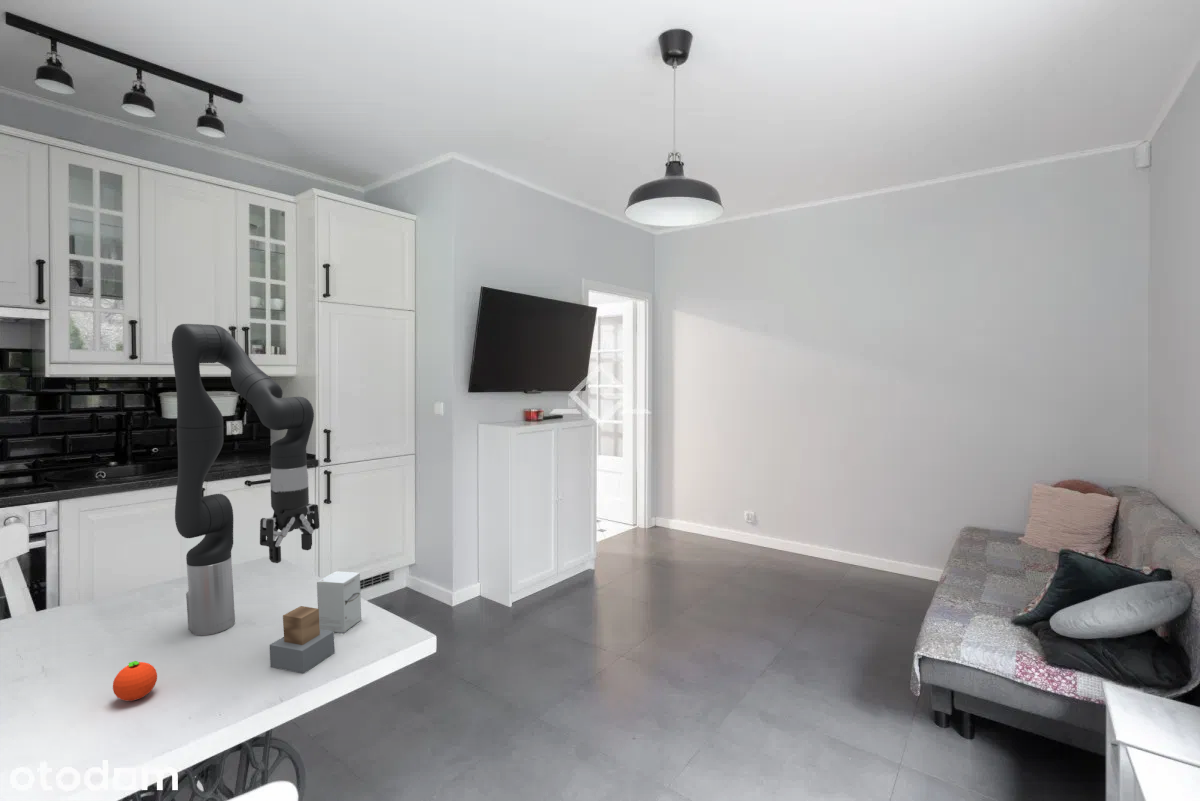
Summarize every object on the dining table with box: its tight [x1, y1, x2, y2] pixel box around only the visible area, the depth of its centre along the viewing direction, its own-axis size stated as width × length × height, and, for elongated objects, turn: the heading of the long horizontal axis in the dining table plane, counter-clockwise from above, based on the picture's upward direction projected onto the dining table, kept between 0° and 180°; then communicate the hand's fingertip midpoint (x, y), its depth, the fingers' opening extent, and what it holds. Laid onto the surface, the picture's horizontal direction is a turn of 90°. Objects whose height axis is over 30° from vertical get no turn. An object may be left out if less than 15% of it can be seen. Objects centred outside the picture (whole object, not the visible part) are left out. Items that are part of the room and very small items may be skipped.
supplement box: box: [316, 570, 362, 634], centre depth 145 cm, size 7×7×13 cm
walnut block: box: [282, 605, 320, 645], centre depth 128 cm, size 5×5×6 cm
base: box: [269, 629, 336, 674], centre depth 129 cm, size 9×9×5 cm
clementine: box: [112, 660, 158, 702], centre depth 115 cm, size 8×7×7 cm
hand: (291, 555), depth 132 cm, fingers open, 8 cm apart
